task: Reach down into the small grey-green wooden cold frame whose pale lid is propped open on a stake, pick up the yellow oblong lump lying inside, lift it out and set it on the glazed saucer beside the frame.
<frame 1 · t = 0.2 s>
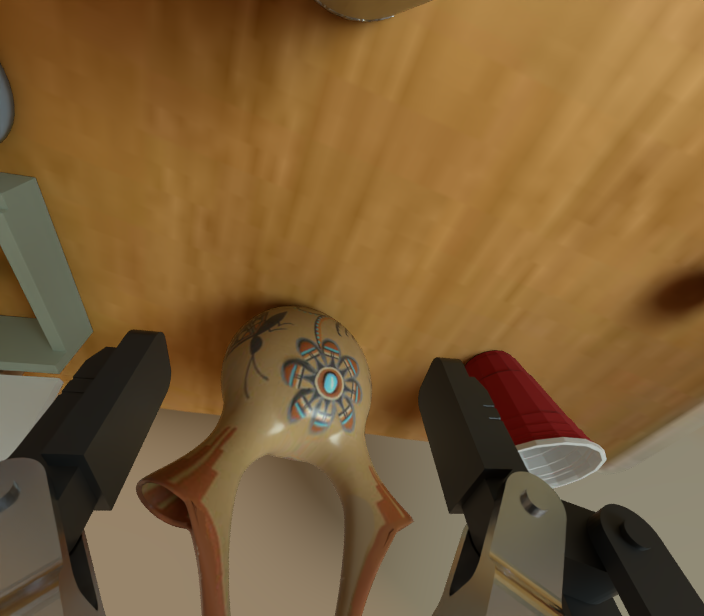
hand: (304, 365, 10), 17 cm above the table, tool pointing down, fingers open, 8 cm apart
ceramic vessel: (304, 322, 32), on the table
prop stake: (13, 358, 32), on the table
plastic cup: (485, 367, 38), on the table
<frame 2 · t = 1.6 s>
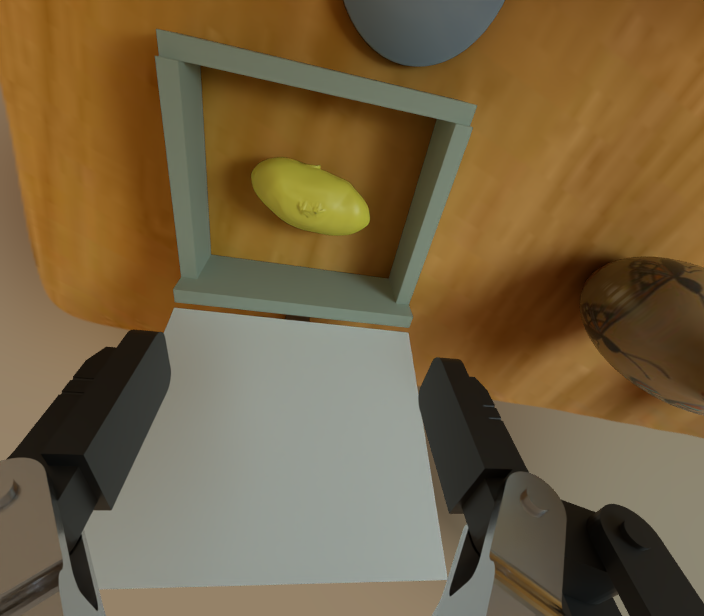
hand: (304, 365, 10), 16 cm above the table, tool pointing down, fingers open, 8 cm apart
yellow oblong lump: (313, 190, 23), resting in cold frame
ceramic vessel: (610, 282, 30), on the table
cold frame: (313, 191, 23), on the table
lid: (287, 423, 19), point 12 cm above the table, hinge at 104.0°
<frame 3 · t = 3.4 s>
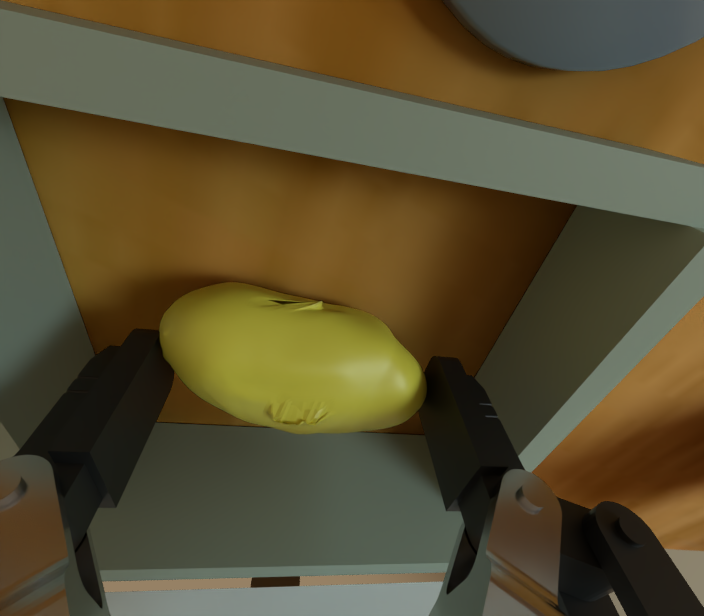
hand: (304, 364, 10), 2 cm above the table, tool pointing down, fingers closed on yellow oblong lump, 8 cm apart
yellow oblong lump: (307, 320, 11), resting in cold frame, touching gripper
cold frame: (307, 325, 11), on the table
prop stake: (283, 489, 18), on the table
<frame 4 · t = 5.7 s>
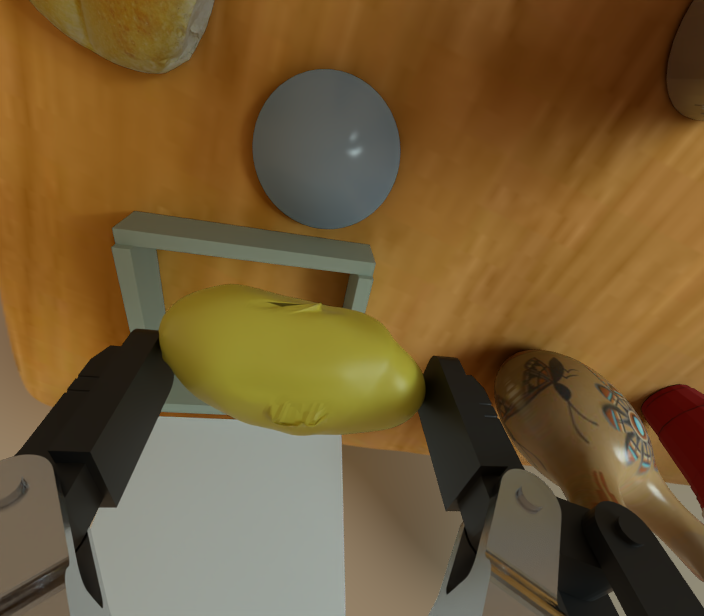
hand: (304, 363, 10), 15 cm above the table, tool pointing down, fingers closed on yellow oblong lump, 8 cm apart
yellow oblong lump: (307, 322, 12), point 14 cm above the table, touching gripper
ceramic vessel: (525, 363, 34), on the table
cold frame: (256, 309, 27), on the table
saucer: (327, 156, 21), on the table
lid: (226, 522, 23), point 12 cm above the table, hinge at 104.0°
plastic cup: (662, 400, 40), on the table
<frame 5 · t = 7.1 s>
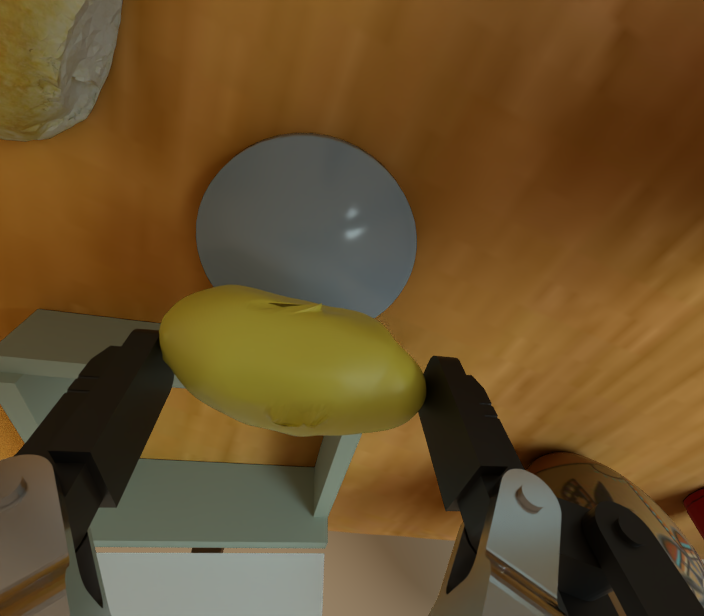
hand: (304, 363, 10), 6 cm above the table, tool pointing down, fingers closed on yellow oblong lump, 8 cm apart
yellow oblong lump: (307, 322, 11), point 4 cm above the table, touching gripper
ceramic vessel: (554, 461, 28), on the table
cold frame: (218, 413, 21), on the table
saucer: (310, 247, 15), on the table
when the fingers open (4 cm above the table, at t = 8.1 s): yellow oblong lump drops 1 cm, resting on saucer.
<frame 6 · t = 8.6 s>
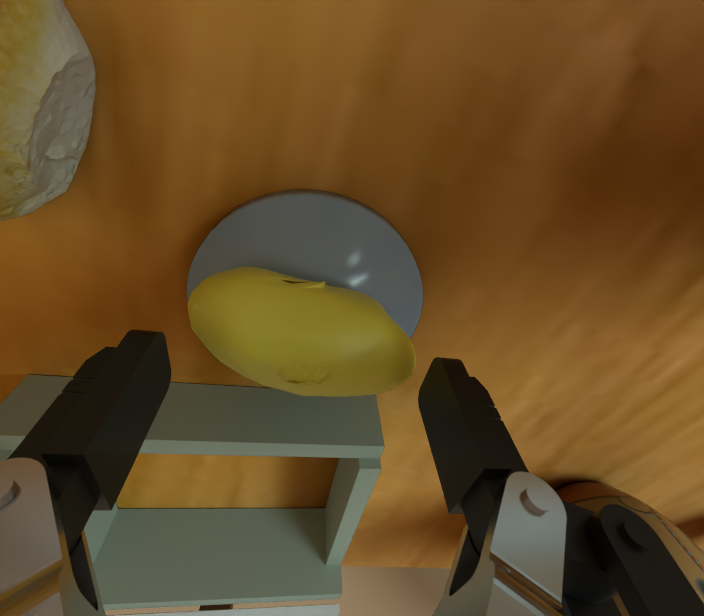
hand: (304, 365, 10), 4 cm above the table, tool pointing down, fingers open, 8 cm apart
yellow oblong lump: (311, 303, 13), point 1 cm above the table, touching saucer
ceramic vessel: (577, 490, 27), on the table
cold frame: (222, 462, 20), on the table
saucer: (309, 300, 14), on the table
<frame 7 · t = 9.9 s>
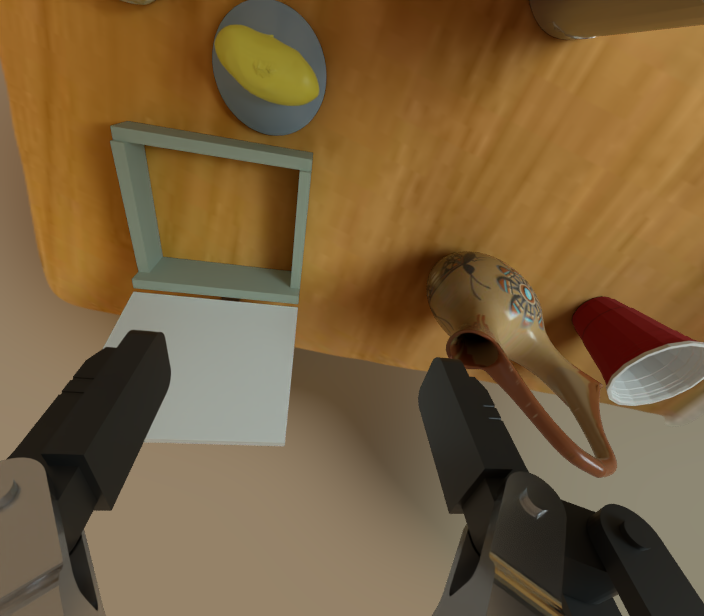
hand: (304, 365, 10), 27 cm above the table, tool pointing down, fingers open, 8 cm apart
yellow oblong lump: (271, 69, 27), point 1 cm above the table, touching saucer
ceramic vessel: (460, 271, 41), on the table
cold frame: (227, 212, 34), on the table
saucer: (271, 73, 28), on the table
lid: (201, 361, 30), point 12 cm above the table, hinge at 104.0°
plastic cup: (590, 313, 46), on the table
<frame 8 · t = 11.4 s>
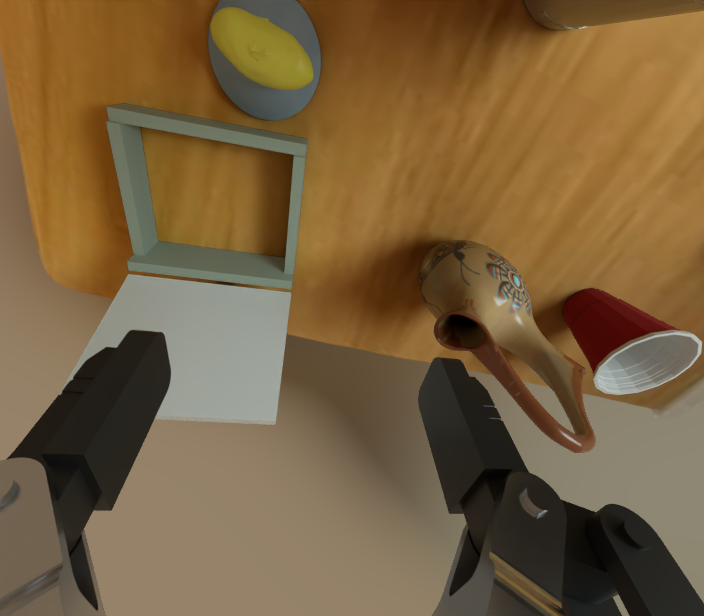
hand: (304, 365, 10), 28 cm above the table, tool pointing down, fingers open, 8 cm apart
yellow oblong lump: (267, 53, 27), point 1 cm above the table, touching saucer
ceramic vessel: (452, 260, 41), on the table
cold frame: (222, 197, 34), on the table
saucer: (267, 58, 28), on the table
lid: (194, 342, 30), point 12 cm above the table, hinge at 104.0°
plastic cup: (580, 305, 47), on the table
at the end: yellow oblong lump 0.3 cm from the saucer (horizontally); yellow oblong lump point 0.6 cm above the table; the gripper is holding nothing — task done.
